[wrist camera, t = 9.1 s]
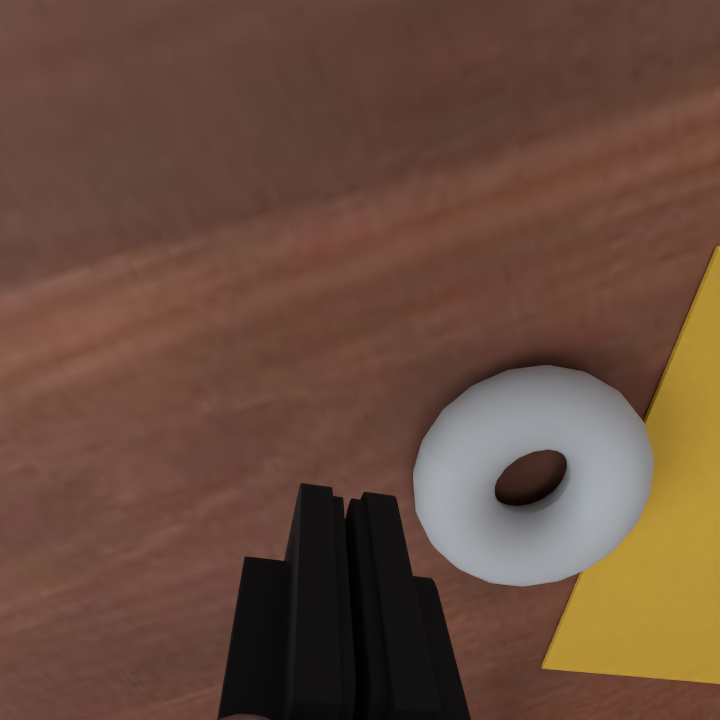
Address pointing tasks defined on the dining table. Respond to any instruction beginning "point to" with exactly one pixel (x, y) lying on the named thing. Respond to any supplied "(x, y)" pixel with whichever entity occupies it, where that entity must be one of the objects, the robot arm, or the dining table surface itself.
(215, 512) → the dining table surface
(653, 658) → the cloth
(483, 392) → the donut
